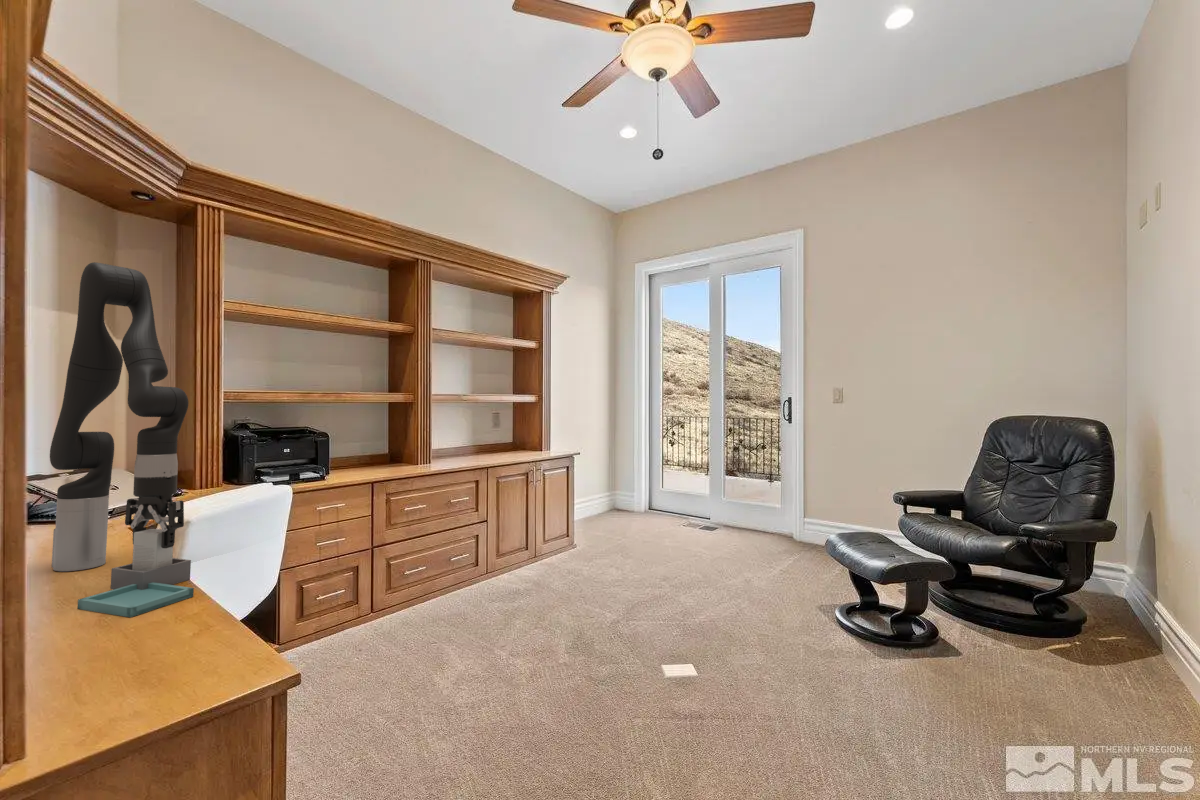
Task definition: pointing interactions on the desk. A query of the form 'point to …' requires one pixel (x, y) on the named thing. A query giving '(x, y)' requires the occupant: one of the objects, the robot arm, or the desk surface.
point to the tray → (135, 599)
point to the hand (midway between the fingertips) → (153, 546)
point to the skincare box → (150, 551)
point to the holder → (151, 575)
